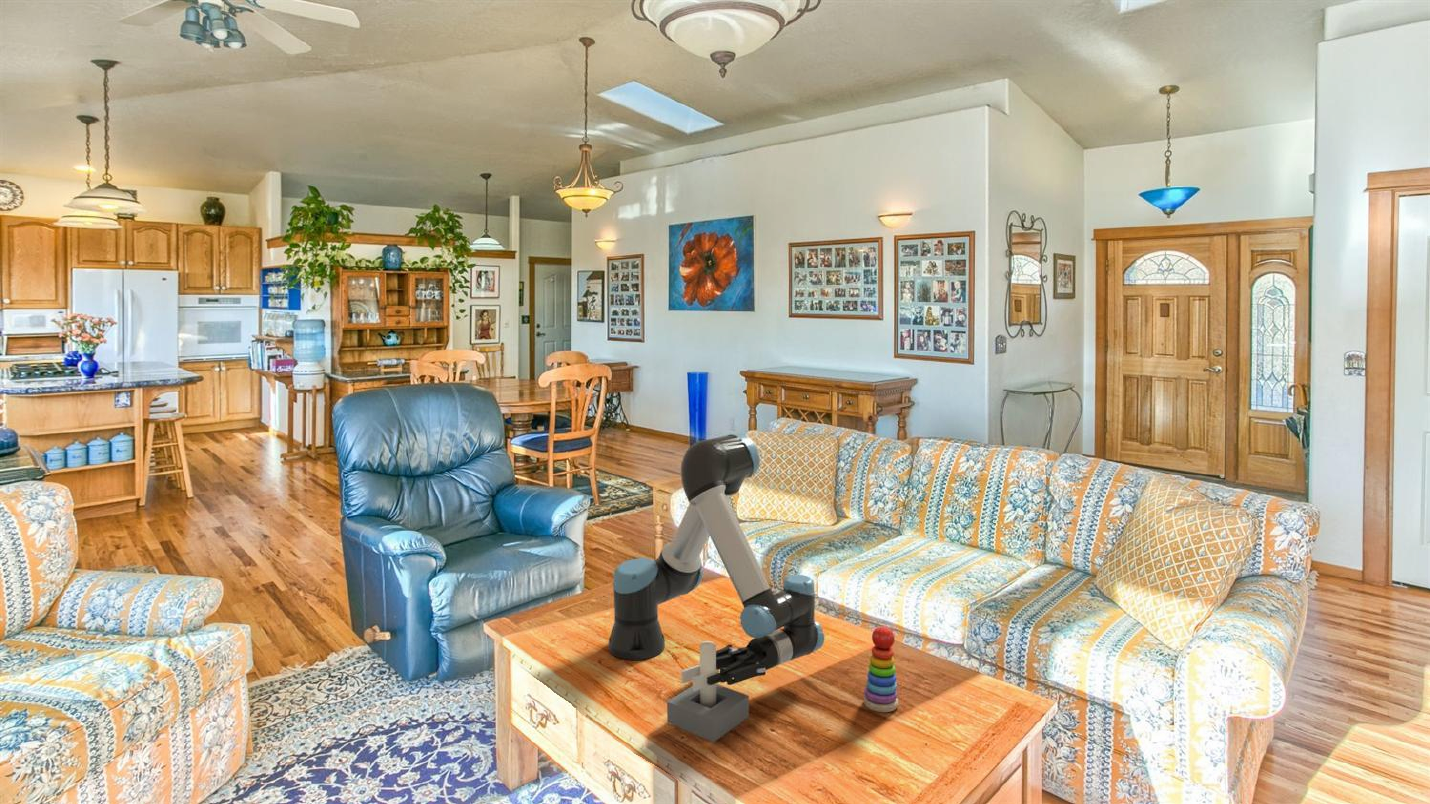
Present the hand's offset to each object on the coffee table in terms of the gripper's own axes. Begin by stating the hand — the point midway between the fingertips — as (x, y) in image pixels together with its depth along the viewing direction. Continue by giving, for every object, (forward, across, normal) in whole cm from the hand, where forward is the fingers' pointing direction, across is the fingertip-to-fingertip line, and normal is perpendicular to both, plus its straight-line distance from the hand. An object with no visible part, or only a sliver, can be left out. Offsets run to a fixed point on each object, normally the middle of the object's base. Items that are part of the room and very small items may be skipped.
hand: (688, 680), depth 172 cm
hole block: (-5, 0, -11) cm, 12 cm away
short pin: (-17, +16, -11) cm, 25 cm away
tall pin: (-5, 0, -8) cm, 10 cm away
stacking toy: (-41, -20, -11) cm, 47 cm away
